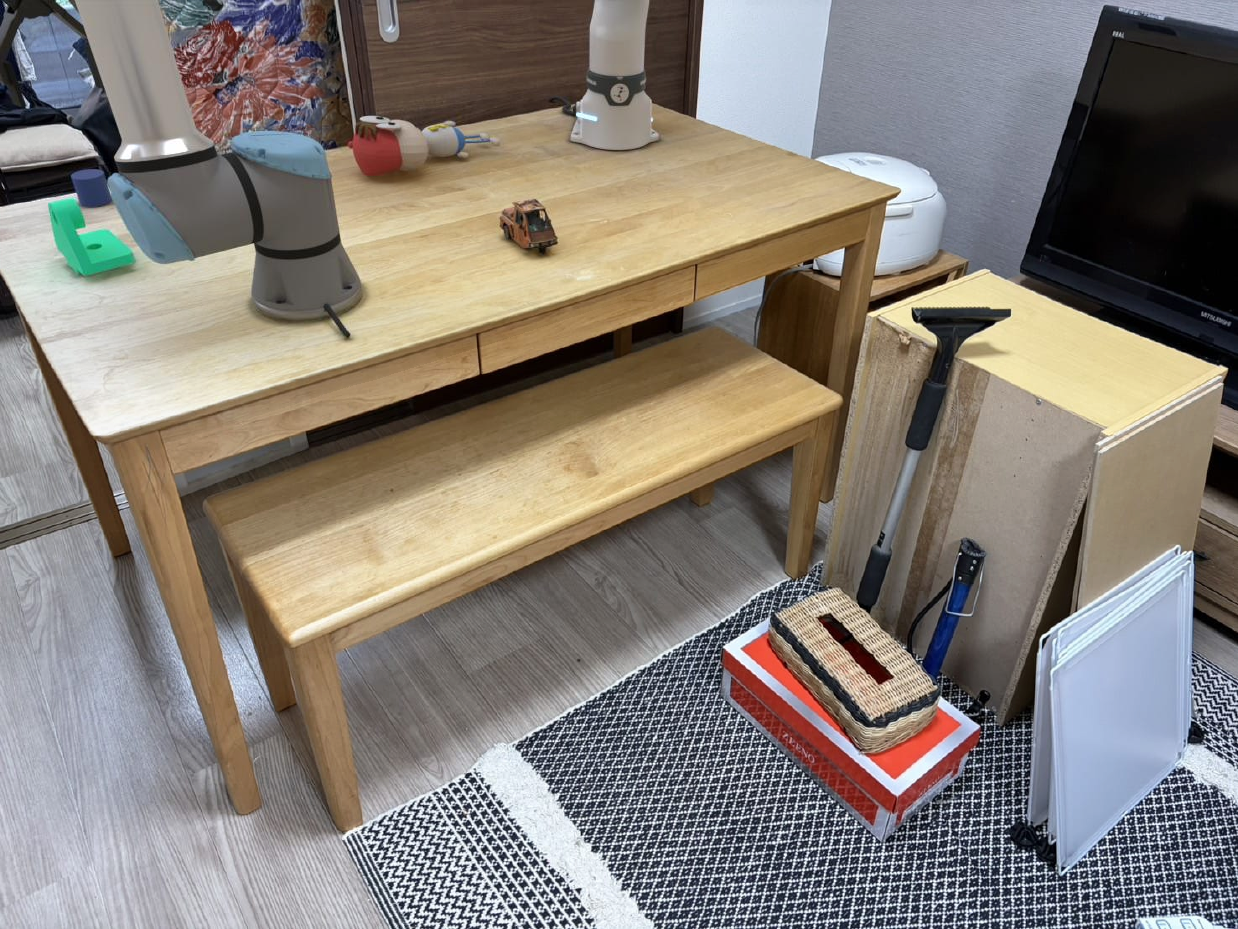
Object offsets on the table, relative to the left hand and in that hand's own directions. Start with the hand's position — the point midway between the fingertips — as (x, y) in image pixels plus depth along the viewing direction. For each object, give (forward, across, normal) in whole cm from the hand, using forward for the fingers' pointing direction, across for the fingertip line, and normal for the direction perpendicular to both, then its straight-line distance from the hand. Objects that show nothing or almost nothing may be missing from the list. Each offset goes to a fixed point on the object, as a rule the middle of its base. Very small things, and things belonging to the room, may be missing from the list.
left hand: (62, 96), depth 151 cm
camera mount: (+18, +13, +24) cm, 33 cm away
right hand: (-23, -52, +24) cm, 62 cm away
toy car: (+18, -35, +70) cm, 80 cm away
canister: (+18, 0, 0) cm, 18 cm away
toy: (+18, -52, +29) cm, 62 cm away
